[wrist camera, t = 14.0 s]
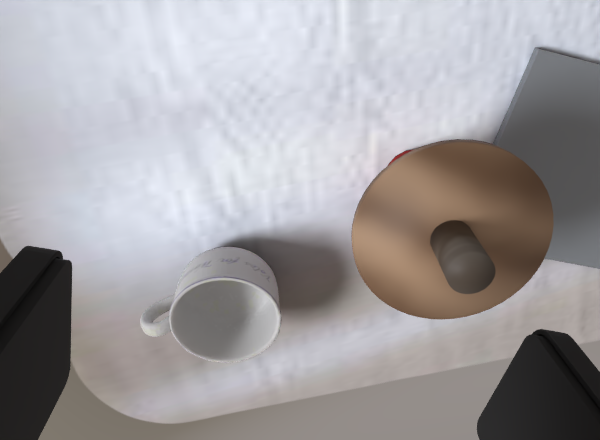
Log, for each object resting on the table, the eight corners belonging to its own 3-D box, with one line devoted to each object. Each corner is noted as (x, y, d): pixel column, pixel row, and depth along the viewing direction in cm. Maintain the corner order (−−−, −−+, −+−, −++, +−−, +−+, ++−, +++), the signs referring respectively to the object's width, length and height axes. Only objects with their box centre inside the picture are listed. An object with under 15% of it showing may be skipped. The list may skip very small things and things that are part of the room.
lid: (383, 118, 33) (397, 142, 28) (583, 164, 34) (633, 196, 29) (330, 292, 40) (333, 339, 34) (500, 327, 41) (529, 378, 35)
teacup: (281, 235, 50) (283, 278, 43) (279, 316, 55) (279, 367, 48) (147, 232, 49) (126, 276, 42) (157, 315, 54) (139, 367, 47)
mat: (535, 47, 42) (539, 48, 42) (723, 96, 45) (730, 98, 45) (452, 238, 51) (455, 241, 51) (614, 268, 54) (619, 272, 53)
